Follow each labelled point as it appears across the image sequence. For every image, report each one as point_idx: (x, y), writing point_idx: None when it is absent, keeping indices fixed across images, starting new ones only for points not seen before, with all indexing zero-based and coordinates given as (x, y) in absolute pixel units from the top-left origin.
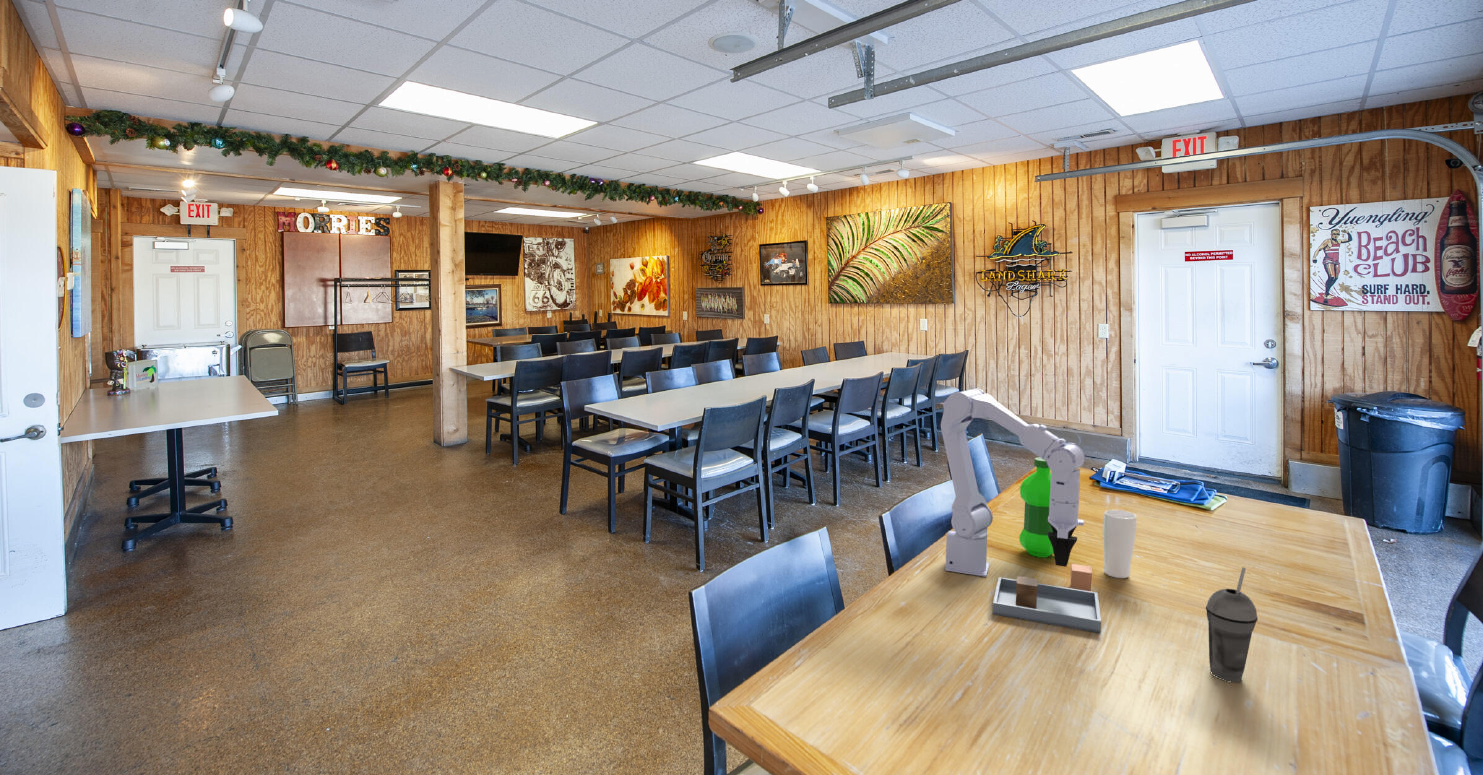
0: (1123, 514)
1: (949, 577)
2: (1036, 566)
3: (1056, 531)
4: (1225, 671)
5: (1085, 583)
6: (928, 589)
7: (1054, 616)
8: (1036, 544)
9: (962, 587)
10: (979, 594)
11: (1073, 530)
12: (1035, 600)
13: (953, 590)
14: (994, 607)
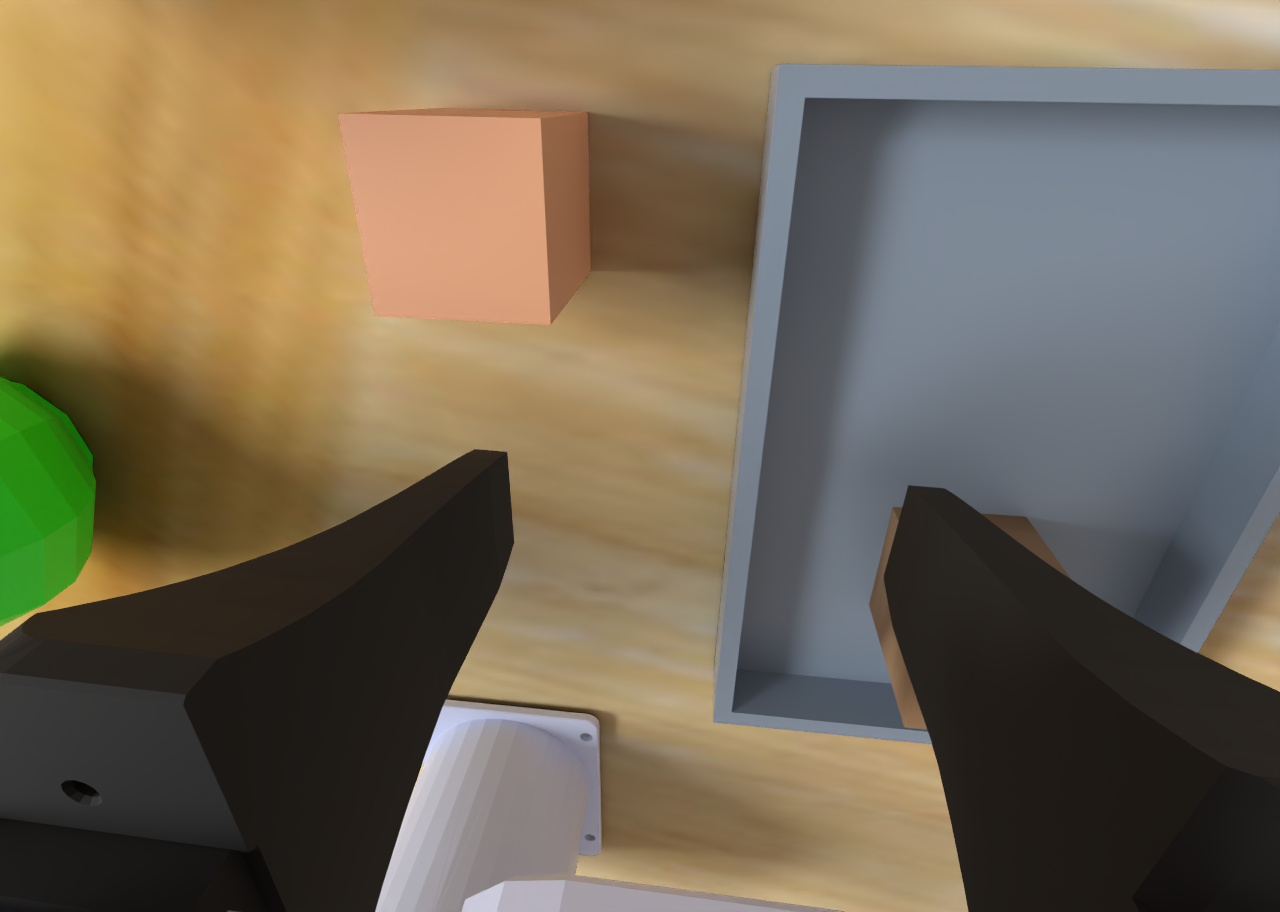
0: None
1: (670, 832)
2: (265, 469)
3: (399, 782)
4: None
5: (570, 169)
6: (845, 895)
7: None
8: (54, 533)
9: (774, 796)
10: (840, 742)
11: (314, 627)
12: (1050, 558)
13: (825, 825)
14: None
